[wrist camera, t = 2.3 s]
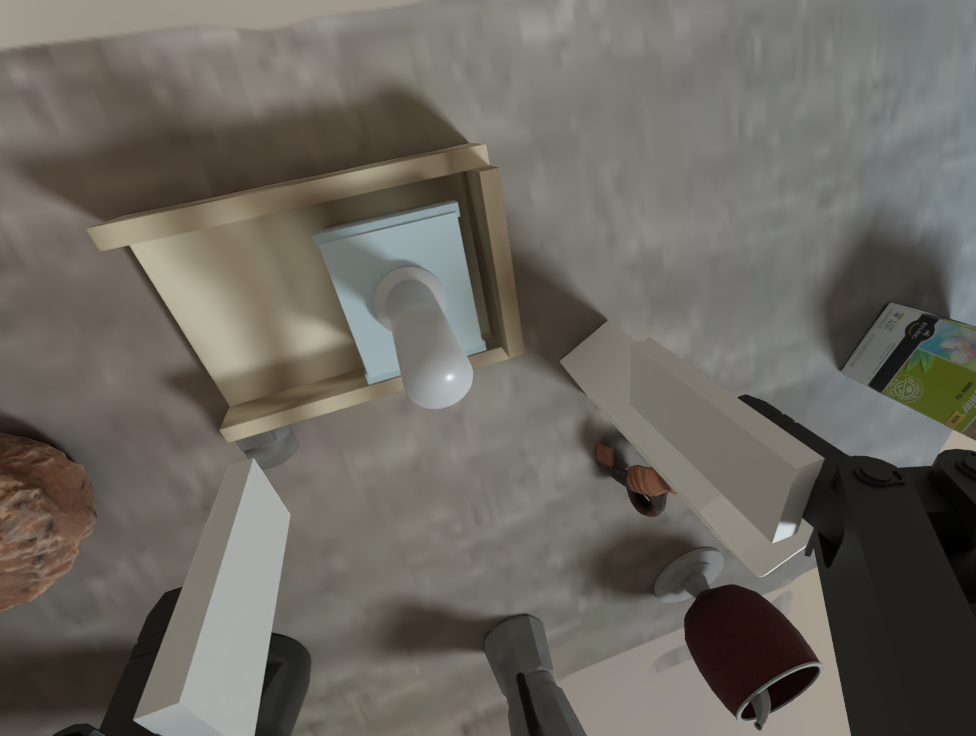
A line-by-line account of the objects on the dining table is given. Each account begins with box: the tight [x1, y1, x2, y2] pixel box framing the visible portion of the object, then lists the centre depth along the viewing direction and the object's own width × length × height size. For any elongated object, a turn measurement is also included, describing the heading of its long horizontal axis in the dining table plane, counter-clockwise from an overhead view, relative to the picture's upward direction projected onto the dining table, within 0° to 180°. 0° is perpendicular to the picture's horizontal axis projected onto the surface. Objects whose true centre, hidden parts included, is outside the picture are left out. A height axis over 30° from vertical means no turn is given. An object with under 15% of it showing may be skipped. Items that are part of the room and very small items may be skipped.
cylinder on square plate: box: [311, 200, 486, 409], centre depth 24 cm, size 8×10×15 cm
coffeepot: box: [484, 615, 587, 736], centre depth 52 cm, size 15×9×18 cm, turn 18°
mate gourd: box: [654, 547, 824, 731], centre depth 58 cm, size 16×14×20 cm
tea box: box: [841, 303, 976, 440], centre depth 47 cm, size 15×10×15 cm, turn 74°
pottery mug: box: [596, 443, 677, 517], centre depth 46 cm, size 12×10×8 cm
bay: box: [86, 143, 525, 469], centre depth 29 cm, size 22×18×6 cm
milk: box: [560, 321, 813, 577], centre depth 31 cm, size 6×6×22 cm
